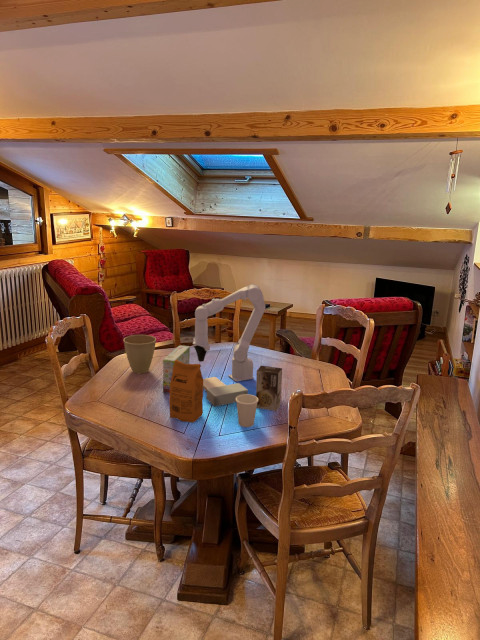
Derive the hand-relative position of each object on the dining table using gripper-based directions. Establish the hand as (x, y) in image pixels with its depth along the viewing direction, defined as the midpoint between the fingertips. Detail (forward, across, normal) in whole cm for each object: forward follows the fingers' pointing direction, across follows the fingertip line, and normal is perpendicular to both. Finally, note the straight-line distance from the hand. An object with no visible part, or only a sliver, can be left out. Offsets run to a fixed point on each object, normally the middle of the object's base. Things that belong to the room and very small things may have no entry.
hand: (201, 361), depth 213 cm
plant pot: (+8, -19, -23) cm, 31 cm away
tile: (+8, +12, 0) cm, 15 cm away
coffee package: (+8, +34, -21) cm, 41 cm away
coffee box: (+8, +40, +12) cm, 43 cm away
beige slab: (+8, +27, 0) cm, 28 cm away
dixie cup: (+8, +49, -3) cm, 50 cm away
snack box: (+8, +3, -13) cm, 16 cm away
